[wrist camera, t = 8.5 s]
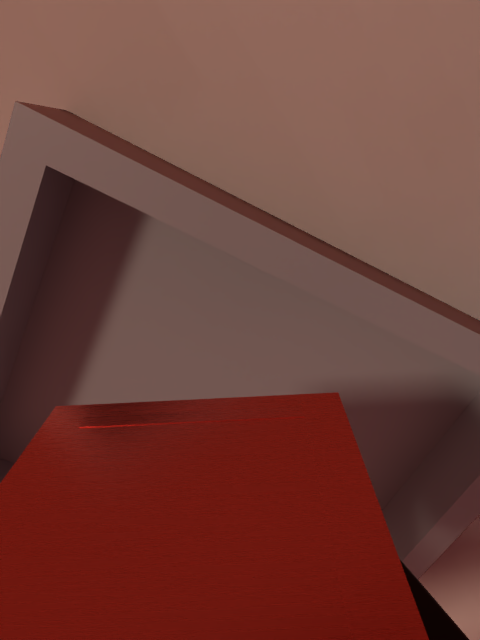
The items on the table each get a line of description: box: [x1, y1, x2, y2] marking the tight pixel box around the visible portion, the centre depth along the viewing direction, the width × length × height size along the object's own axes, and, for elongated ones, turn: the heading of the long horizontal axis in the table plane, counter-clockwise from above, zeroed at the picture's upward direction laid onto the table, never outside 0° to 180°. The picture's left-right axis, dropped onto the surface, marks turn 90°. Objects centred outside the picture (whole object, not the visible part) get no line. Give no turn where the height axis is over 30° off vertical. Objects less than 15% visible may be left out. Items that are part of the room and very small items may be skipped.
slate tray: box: [0, 101, 480, 579], centre depth 17 cm, size 20×16×4 cm
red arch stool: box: [0, 392, 429, 640], centre depth 7 cm, size 6×5×6 cm
